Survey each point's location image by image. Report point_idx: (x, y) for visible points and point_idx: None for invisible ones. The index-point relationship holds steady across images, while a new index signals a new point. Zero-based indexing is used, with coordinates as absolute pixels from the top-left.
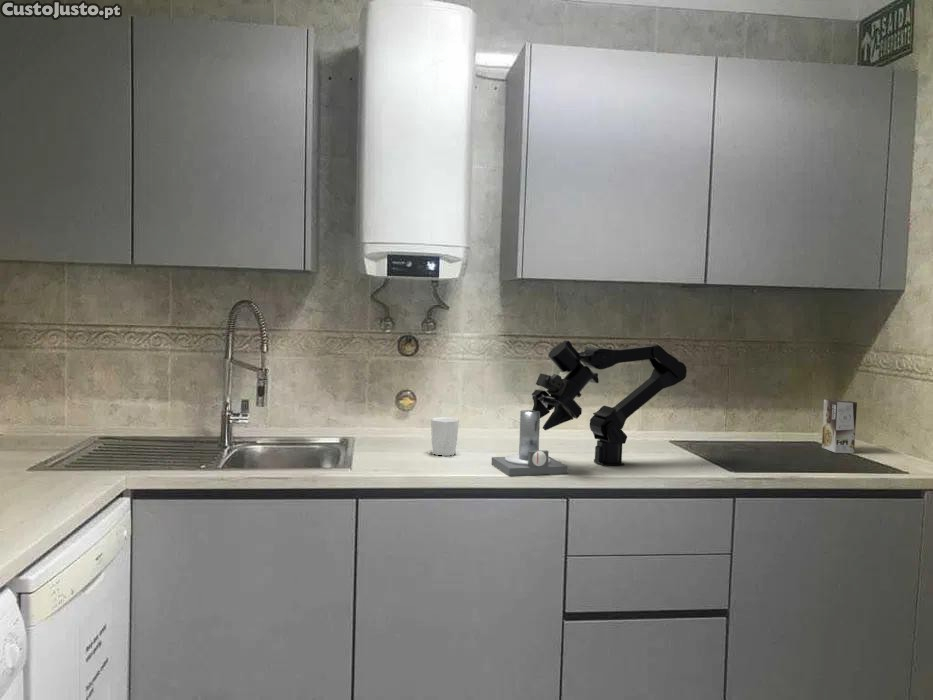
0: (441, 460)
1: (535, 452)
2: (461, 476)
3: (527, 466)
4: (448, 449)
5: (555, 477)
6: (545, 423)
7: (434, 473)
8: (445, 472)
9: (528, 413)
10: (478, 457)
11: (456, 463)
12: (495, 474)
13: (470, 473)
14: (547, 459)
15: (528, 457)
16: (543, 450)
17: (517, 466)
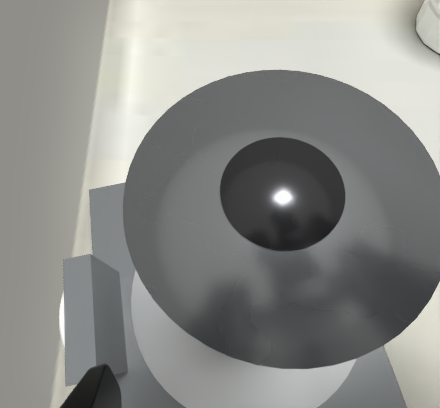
0: (343, 24)
1: (65, 293)
2: (116, 67)
3: (118, 270)
4: (433, 19)
5: (57, 402)
6: (76, 405)
7: (159, 10)
8: (171, 32)
9: (142, 153)
10: (430, 127)
11: (304, 60)
12: None
13: (155, 90)
14: None
15: (101, 263)
16: (95, 354)
17: (121, 225)
